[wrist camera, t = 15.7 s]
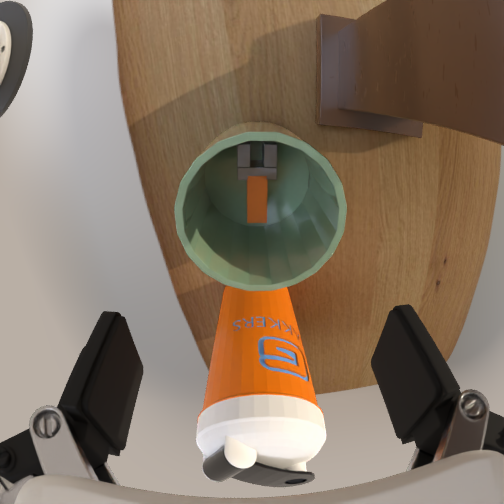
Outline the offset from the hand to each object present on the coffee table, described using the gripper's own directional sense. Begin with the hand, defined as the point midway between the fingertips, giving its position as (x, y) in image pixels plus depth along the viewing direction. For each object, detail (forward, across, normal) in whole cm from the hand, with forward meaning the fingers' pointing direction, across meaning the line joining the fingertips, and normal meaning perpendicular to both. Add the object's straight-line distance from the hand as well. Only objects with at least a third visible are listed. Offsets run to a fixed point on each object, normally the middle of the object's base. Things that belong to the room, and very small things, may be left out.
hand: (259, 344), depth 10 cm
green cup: (+19, -1, -1) cm, 19 cm away
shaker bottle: (+19, -1, +12) cm, 22 cm away
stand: (+18, -11, -11) cm, 24 cm away
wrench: (+18, -1, -1) cm, 18 cm away
